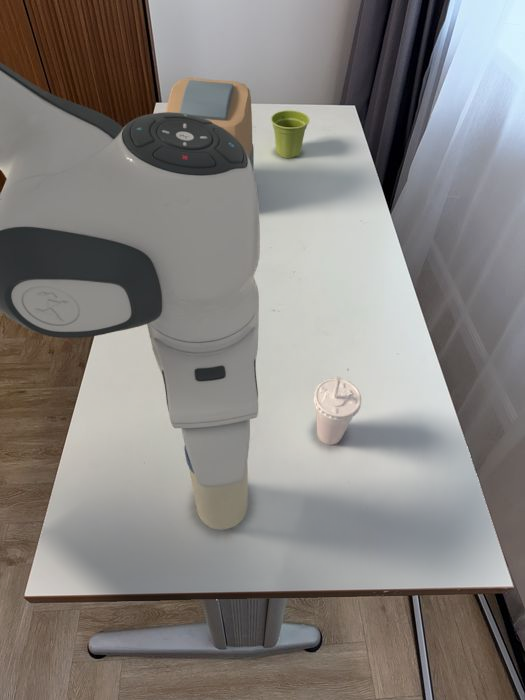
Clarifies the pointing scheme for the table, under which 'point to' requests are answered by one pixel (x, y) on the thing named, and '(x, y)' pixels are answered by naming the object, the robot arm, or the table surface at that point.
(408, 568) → the table surface
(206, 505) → the bottle
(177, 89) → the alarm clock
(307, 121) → the plant pot
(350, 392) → the smoothie
